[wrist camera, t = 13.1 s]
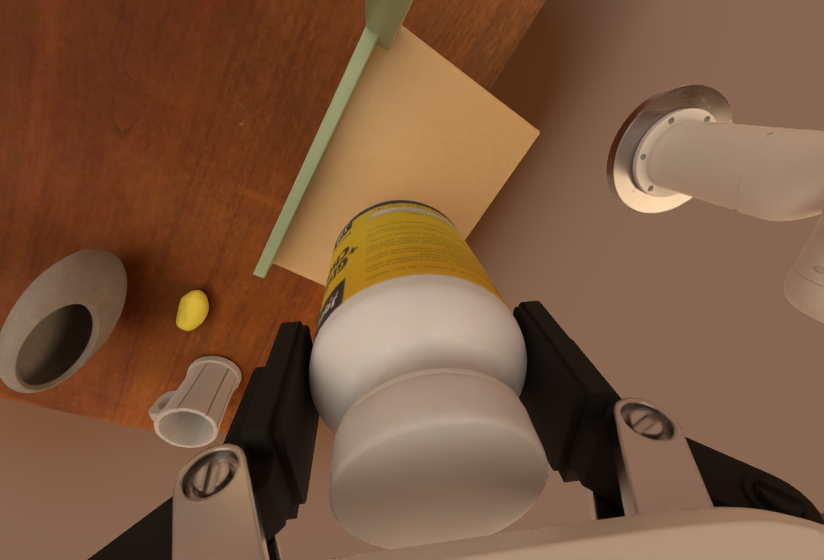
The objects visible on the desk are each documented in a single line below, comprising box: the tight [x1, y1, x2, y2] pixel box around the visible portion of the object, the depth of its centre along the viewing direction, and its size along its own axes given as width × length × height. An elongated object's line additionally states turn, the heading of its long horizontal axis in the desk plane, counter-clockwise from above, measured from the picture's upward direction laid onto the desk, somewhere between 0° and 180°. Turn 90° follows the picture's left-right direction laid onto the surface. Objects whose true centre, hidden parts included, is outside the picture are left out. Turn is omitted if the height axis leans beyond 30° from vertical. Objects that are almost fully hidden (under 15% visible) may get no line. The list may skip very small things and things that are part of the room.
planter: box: [0, 248, 127, 393], centre depth 44 cm, size 18×7×19 cm, turn 153°
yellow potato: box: [176, 290, 209, 331], centre depth 54 cm, size 4×8×4 cm, turn 146°
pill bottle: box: [309, 199, 548, 550], centre depth 12 cm, size 6×6×12 cm
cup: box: [149, 356, 242, 448], centre depth 57 cm, size 10×9×12 cm
